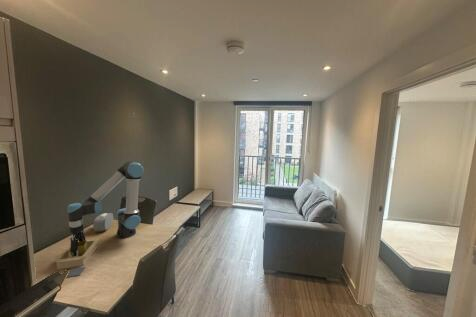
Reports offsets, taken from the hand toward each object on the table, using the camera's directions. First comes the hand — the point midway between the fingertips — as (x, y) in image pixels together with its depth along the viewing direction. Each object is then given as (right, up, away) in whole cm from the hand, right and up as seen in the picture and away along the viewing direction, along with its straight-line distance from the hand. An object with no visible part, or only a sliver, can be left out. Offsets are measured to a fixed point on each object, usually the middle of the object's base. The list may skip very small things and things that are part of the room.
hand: (79, 255), depth 144 cm
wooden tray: (0, -1, 0) cm, 1 cm away
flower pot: (0, -1, 0) cm, 0 cm away
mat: (+10, -3, -17) cm, 20 cm away
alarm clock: (-13, +3, +46) cm, 48 cm away
